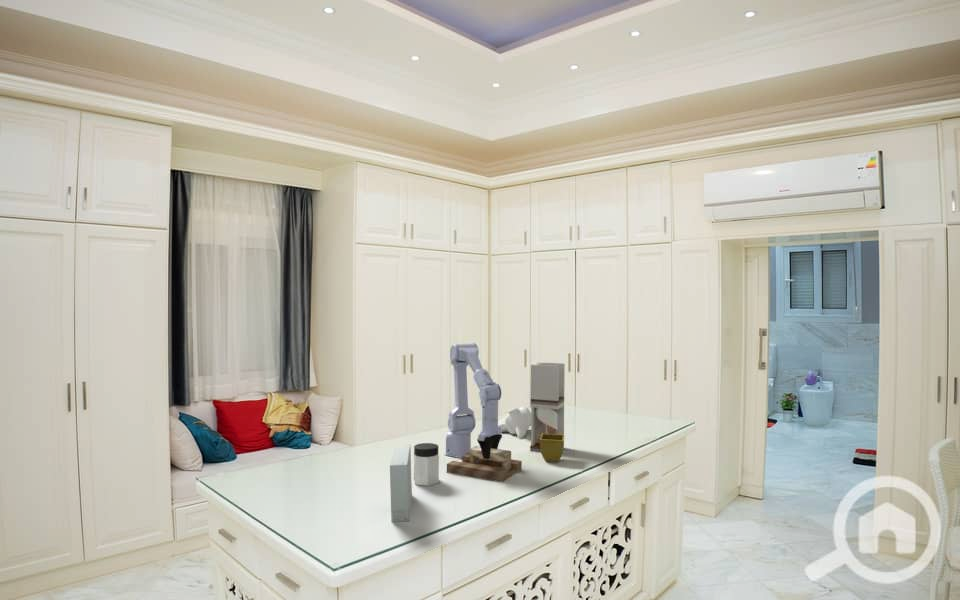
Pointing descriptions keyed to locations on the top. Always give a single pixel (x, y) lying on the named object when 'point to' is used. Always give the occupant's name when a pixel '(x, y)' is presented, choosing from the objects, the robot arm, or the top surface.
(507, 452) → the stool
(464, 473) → the board
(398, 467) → the skincare box
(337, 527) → the top surface
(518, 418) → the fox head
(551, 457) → the flower pot
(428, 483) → the jar
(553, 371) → the grey dispenser tower
